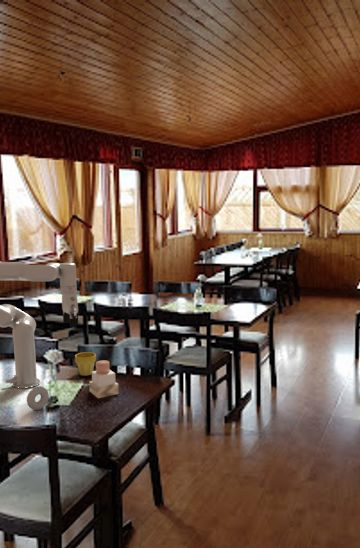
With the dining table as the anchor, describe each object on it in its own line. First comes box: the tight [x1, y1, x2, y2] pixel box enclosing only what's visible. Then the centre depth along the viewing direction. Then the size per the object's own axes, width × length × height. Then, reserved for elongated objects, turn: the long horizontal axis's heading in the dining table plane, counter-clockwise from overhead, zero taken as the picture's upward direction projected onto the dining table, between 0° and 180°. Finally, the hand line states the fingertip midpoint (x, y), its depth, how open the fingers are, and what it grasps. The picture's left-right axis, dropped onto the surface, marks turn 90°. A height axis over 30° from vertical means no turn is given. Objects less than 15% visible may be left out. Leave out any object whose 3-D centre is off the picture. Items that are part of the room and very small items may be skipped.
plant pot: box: [74, 351, 97, 377], centre depth 276 cm, size 10×10×10 cm
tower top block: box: [91, 369, 117, 387], centre depth 249 cm, size 8×8×5 cm
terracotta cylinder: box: [95, 360, 111, 374], centre depth 249 cm, size 6×6×4 cm
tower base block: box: [88, 380, 120, 399], centre depth 250 cm, size 10×10×5 cm
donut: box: [26, 385, 50, 411], centre depth 230 cm, size 10×4×10 cm, turn 135°
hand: (70, 324), depth 261 cm, fingers open, 9 cm apart
